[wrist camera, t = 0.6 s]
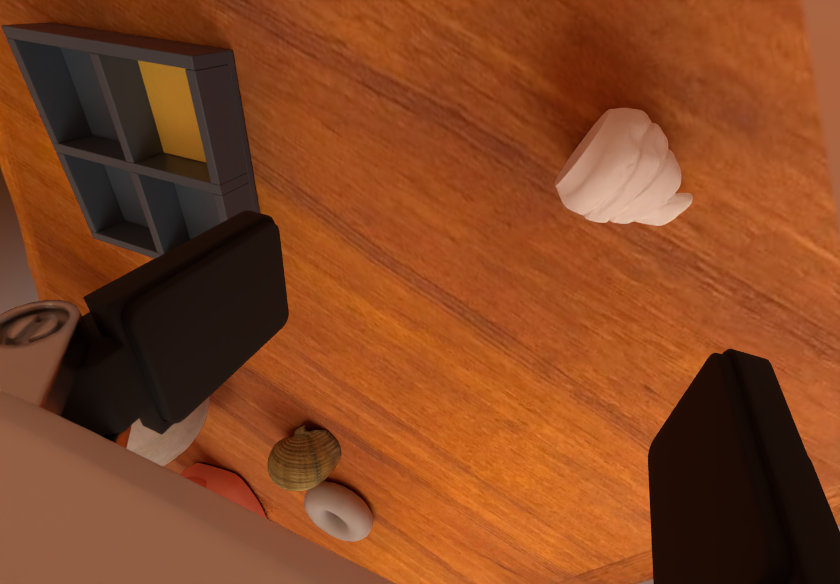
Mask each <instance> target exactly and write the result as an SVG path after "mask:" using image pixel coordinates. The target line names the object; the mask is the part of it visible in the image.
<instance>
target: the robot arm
mask: <svg viewBox="0 0 840 584" xmlns="http://www.w3.org/2000/svg"><path fill="white" fill-rule="evenodd" d="M84 299H85V302H86V304H87V306H88V308H89V310H90V312H89V313H87V314H86V315H84V316H82V315H81V313H80V311H79V309H78V307H77V306H76V305H74V304H73V303H71V302H68V301H62V300H43V301H37V302H32V303H28V304H24V305H21V306H18V307H15V308H13V309H10V310H8V311H6V312H4V313H1V314H0V584H395V583H393V582H391V581H389V580H387V579H385V578H383V577H381V576H379V575H378V574H376V573H374V572H372V571H370V570H368V569H366V568H364V567H362V566H360V565H358V564H356V563H354V562H352V561H350V560H348V559H346V558H344V557H342V556H340V555H338V554H336V553H334V552H332V551H330V550H328V549H326V548H324V547H322V546H320V545H318V544H316V543H314V542H312V541H310V540H308V539H306V538H304V537H302V536H300V535H298V534H296V533H294V532H292V531H290V530H288V529H286V528H284V527H282V526H280V525H278V524H276V523H274V522H272V521H270V520H268V519H266V518H264V517H262V516H260V515H258V514H256V513H255V512H253V511H251V510H249V509H247V508H245V507H243V506H241V505H239V504H237V503H235V502H233V501H231V500H229V499H227V498H225V497H223V496H221V495H219V494H217V493H215V492H213V491H211V490H209V489H207V488H205V487H203V486H201V485H199V484H197V483H195V482H193V481H191V480H189V479H187V478H185V477H183V476H181V475H179V474H177V473H175V472H173V471H171V470H169V469H166V468H164V467H162V466H160V465H158V464H156V463H154V462H152V461H150V460H148V459H146V458H144V457H142V456H140V455H138V454H136V453H134V452H132V451H130V450H128V449H126V448H127V444H128V440H129V435H130V431H131V425H132V424H133V423H134V422H135V421H137V420H138V419H140V421H141V423H142V425H143V426H144V427H146V428H149V429H151V430H153V431H155V432H157V433H159V434H161V435H162V434H163V433H165V432H166V431H167V430H168V429H169V428H170V427H171V426H172V425H173V424H176V423H180V422H182V421H183V420H184V419H186V418H187V417H188V416H189V415H190V414H191V413H192V412H193V411H194V410H195V409H196V408H197V407H198V406H199V405H201V404H202V403H203V402H204V401H205V400H206V399H207V398H208V397H209V396H210V395H211V394H212V393H213V392H214V391H215V390H216V389H218V388H219V387H220V386H221V385H222V384H223V383H224V382H225V381H226V380H227V379H228V378H229V377H230V376H231V375H232V374H234V373H235V372H236V371H237V370H238V369H239V368H240V367H241V366H242V365H243V364H244V363H245V362H246V361H247V360H248V359H250V358H251V357H252V356H253V355H254V354H255V353H256V352H257V351H258V350H259V349H260V348H261V347H262V346H263V345H264V344H265V343H267V342H268V341H269V340H270V339H271V338H272V337H273V336H274V335H275V334H276V333H277V332H278V331H279V330H280V329H281V328H283V326H284V325H285V324H286V322H287V319H288V315H289V312H288V303H287V294H286V286H285V277H284V268H283V260H282V251H281V242H280V234H279V228H278V226H277V225H276V224H275V223H274V220H273V219H272V218H271V217H270V216H268V215H264V214H261V213H257V212H254V211H251V210H245V211H242V212H240V213H239V214H237V215H235V216H233V217H231V218H229V219H227V220H226V221H224V222H222V223H220V224H218V225H216V226H215V227H213V228H211V229H209V230H207V231H205V232H203V233H202V234H200V235H198V236H196V237H194V238H192V239H190V240H189V241H187V242H185V243H183V244H181V245H179V246H177V247H176V248H174V249H172V250H170V251H168V252H166V253H164V254H163V255H161V256H159V257H157V258H155V259H153V260H151V261H150V262H148V263H146V264H144V265H142V266H140V267H139V268H137V269H135V270H133V271H131V272H129V273H127V274H126V275H124V276H122V277H120V278H118V279H116V280H114V281H113V282H111V283H109V284H107V285H105V286H103V287H101V288H100V289H98V290H96V291H94V292H92V293H90V294H88V295H87V296H85V297H84ZM648 470H649V492H650V514H651V536H652V558H653V579H654V584H840V531H839V529H838V526H837V524H836V521H835V519H834V516H833V514H832V511H831V509H830V506H829V504H828V501H827V499H826V496H825V494H824V492H823V489H822V487H821V484H820V482H819V479H818V477H817V474H816V472H815V469H814V467H813V464H812V462H811V460H810V458H809V457H808V455H807V453H806V450H805V448H804V445H803V443H802V440H801V438H800V435H799V433H798V430H797V428H796V425H795V423H794V420H793V418H792V415H791V413H790V410H789V408H788V405H787V403H786V400H785V398H784V395H783V393H782V390H781V388H780V385H779V383H778V380H777V378H776V375H775V373H774V370H773V368H772V365H771V363H770V362H769V360H767V359H765V358H761V357H758V356H754V355H751V354H747V353H744V352H740V351H737V350H733V349H728V350H726V351H725V352H723V354H718V353H713V354H711V355H710V356H709V358H708V359H707V361H706V362H705V364H704V365H703V367H702V368H701V370H700V371H699V372H698V374H697V375H696V377H695V378H694V380H693V381H692V383H691V384H690V386H689V387H688V389H687V390H686V392H685V393H684V395H683V396H682V398H681V399H680V401H679V402H678V404H677V405H676V407H675V408H674V410H673V411H672V413H671V414H670V416H669V417H668V419H667V420H666V422H665V423H664V425H663V426H662V428H661V429H660V431H659V432H658V434H657V435H656V437H655V438H654V440H653V442H652V443H651V446H650V449H649V454H648Z"/></svg>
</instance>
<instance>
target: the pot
mask: <svg viewBox="0 0 840 584" xmlns="http://www.w3.org/2000/svg"><path fill="white" fill-rule="evenodd" d="M180 475H181V476H183V477H185V478H187V479H189V480H191V481H193V482H195V483H197V484H199V485H201V486H203V487H205V488H207V489H209V490H211V491H213V492H215V493H217V494H219V495H221V496H223V497H225V498H227V499H229V500H231V501H233V502H235V503H237V504H239V505H241V506H243V507H245V508H247V509H249V510H251V511H253V512H255V513H256V514H258V515H260V516H262V517H264V518H266V516H265V513H264V511H263V509H262V507H261V505H260V503H259V501H258V500H257V498H256V497H255V495H254V494H253V493H252V491H251V490H250V489H249V487H248V486H247V485H246V483H245V482H244V481H243V480H242V479H241V478H240V477H239V476H238V475H236V474H234V473H232V472H229V471H226V470H223V469H220V468H217V467H213V466H209V465H205V464H201V463H196V464H194V465H192V466H190V467H188V468H187V469H185V470H184V471H183V472H182V473H181V474H180Z"/></svg>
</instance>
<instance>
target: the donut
mask: <svg viewBox="0 0 840 584" xmlns="http://www.w3.org/2000/svg"><path fill="white" fill-rule="evenodd" d="M304 506H305V509H306V512H307V514H308V515H309V517H310V518H311V520H312V521H313V522H314V523H315V524H316V525H317V526H318V527H319V528H321V529H322V530H323V531H325V532H326V533H328V534H330V535H332V536H334V537H336V538H338V539H341V540H345V541H359V540H361V539H363V538H365V537H366V536H367V535H368V534H369V532H370V530H371V527H372V524H373V519H372V515H371V511H370V509H369V508H368V506H367V504H366V503H365V502H364V501H363V500H362V499H361V498H360V497H359V496H358V495H357V494H355V493H354V492H353V491H351V490H349V489H348V488H346V487H344V486H342V485H339V484H336V483H333V482H321V483H320V484H318V485H317V486H315V487H313V488H311V489H308V491H307V492H306V494H305V500H304Z"/></svg>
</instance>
